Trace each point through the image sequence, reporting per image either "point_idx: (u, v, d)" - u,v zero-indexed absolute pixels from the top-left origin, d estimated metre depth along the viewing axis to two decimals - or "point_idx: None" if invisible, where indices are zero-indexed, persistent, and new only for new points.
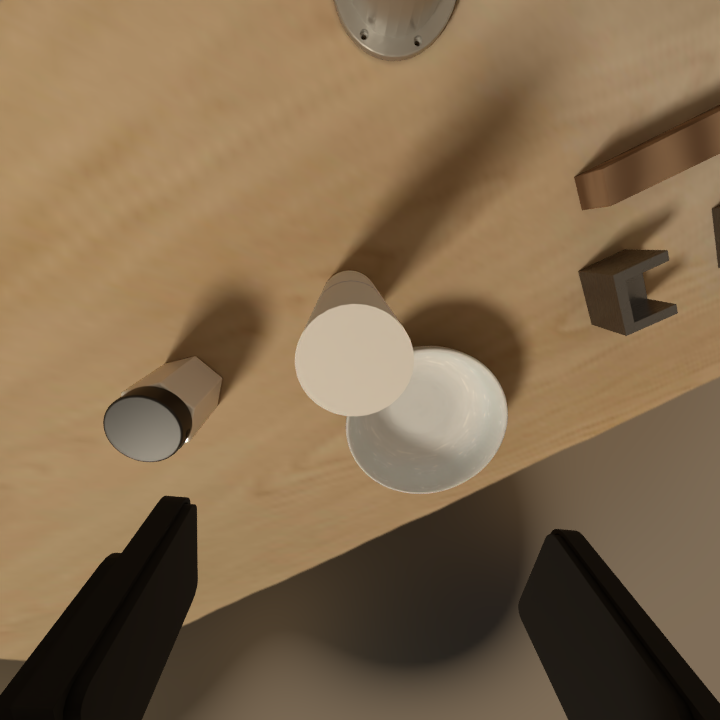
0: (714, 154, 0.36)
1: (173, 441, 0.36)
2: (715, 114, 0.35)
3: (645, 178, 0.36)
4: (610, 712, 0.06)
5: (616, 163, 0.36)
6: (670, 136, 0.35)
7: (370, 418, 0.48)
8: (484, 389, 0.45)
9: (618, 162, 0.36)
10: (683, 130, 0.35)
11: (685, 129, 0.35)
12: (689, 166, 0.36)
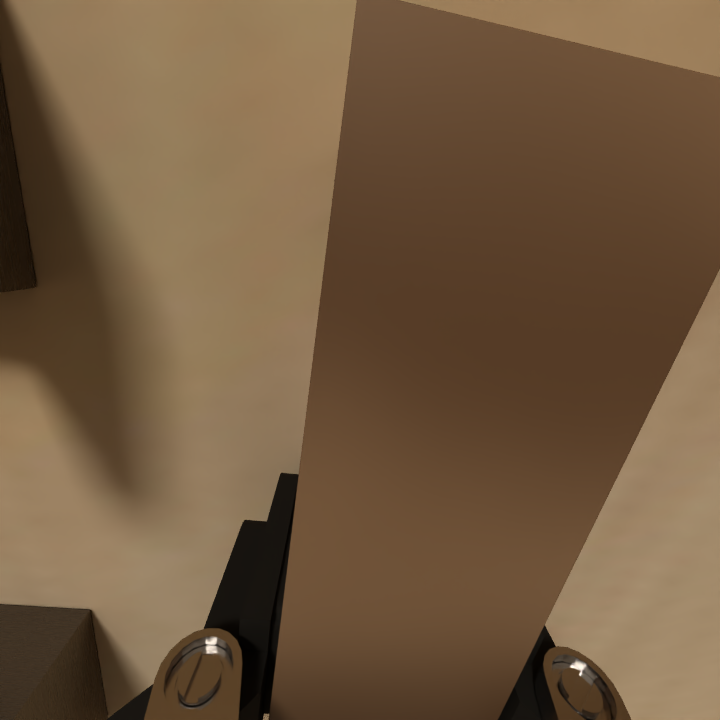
0: None
1: None
2: None
3: (396, 449, 0.04)
4: None
5: (709, 263, 0.03)
6: (529, 637, 0.05)
7: None
8: None
9: (696, 286, 0.04)
10: (503, 691, 0.06)
11: (500, 698, 0.06)
12: (282, 685, 0.05)
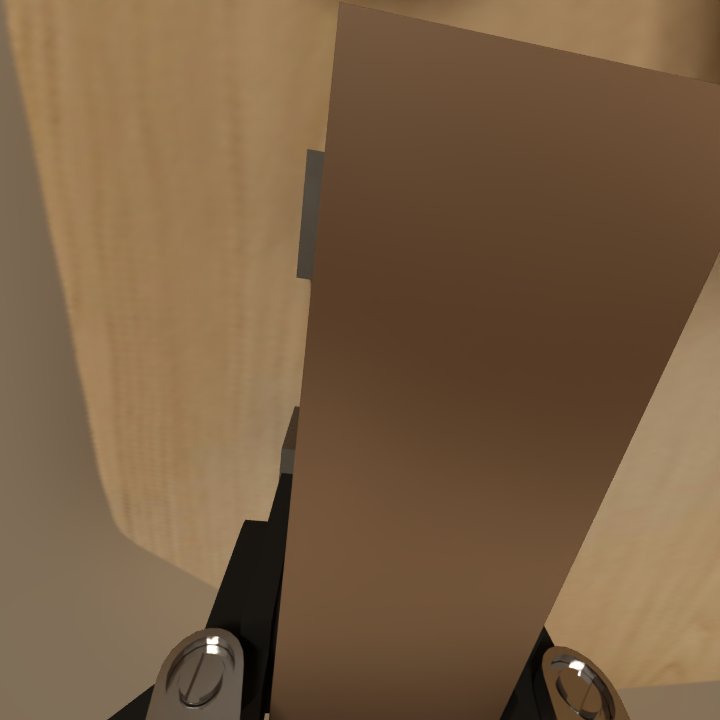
0: None
1: None
2: None
3: (389, 456, 0.04)
4: None
5: (700, 267, 0.03)
6: (527, 640, 0.05)
7: None
8: None
9: (687, 289, 0.04)
10: (502, 694, 0.06)
11: (499, 702, 0.06)
12: (281, 691, 0.05)
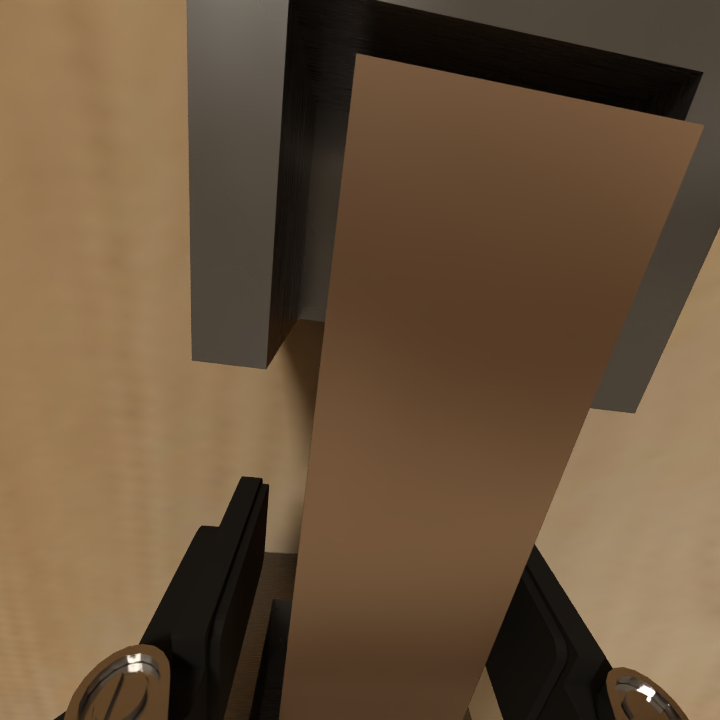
0: (286, 714, 0.07)
1: None
2: None
3: (391, 414, 0.05)
4: (513, 655, 0.07)
5: (641, 255, 0.04)
6: (510, 582, 0.06)
7: None
8: None
9: (632, 274, 0.04)
10: (490, 633, 0.07)
11: (487, 640, 0.07)
12: (297, 627, 0.06)
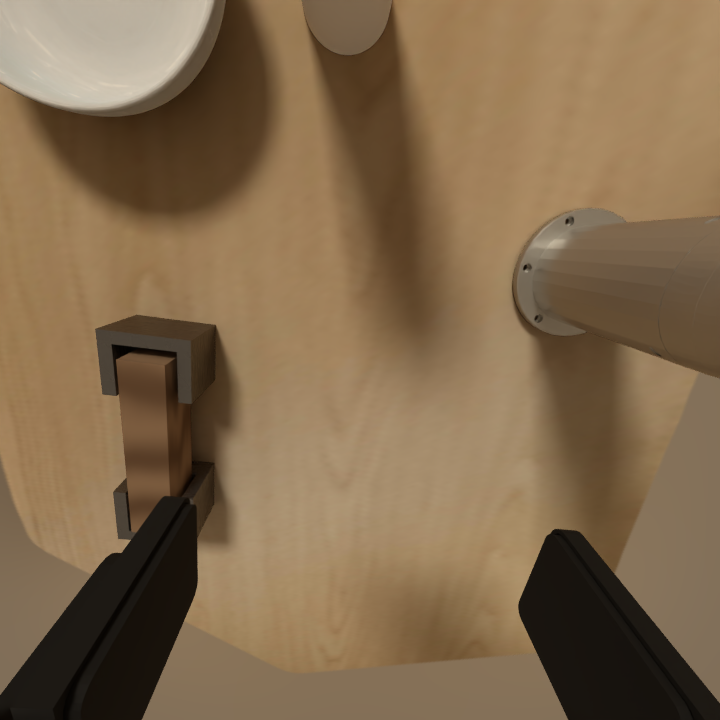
0: (127, 469, 0.32)
1: None
2: (168, 477, 0.33)
3: (132, 403, 0.30)
4: (610, 713, 0.06)
5: (163, 380, 0.30)
6: (166, 437, 0.31)
7: None
8: (89, 101, 0.26)
9: (164, 383, 0.30)
10: (166, 449, 0.32)
11: (166, 451, 0.32)
12: (125, 446, 0.32)
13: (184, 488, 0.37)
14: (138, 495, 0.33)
